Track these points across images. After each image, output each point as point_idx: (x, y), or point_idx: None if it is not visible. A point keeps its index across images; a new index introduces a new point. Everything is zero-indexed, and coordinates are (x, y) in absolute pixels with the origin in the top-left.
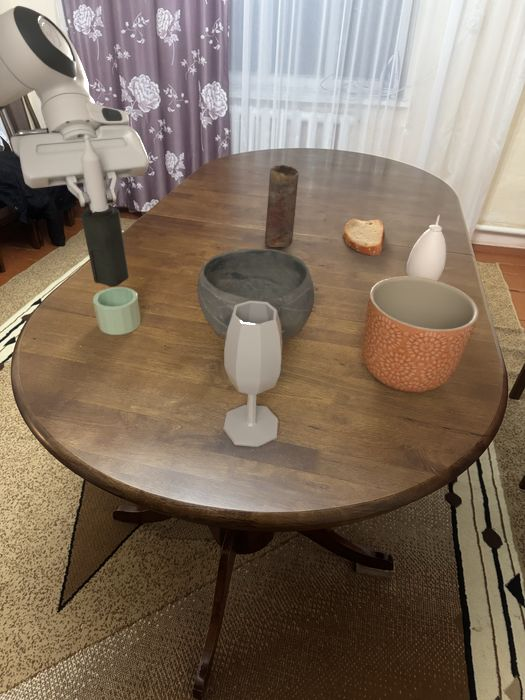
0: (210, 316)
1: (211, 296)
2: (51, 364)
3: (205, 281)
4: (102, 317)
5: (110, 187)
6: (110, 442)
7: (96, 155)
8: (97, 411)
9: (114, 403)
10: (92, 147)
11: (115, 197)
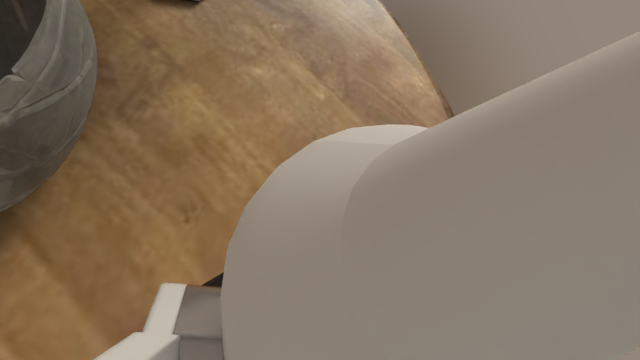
0: (96, 56)
1: (71, 15)
2: None
3: (46, 33)
4: None
5: (165, 338)
6: (373, 55)
7: (325, 151)
8: (375, 117)
9: (345, 118)
10: (432, 136)
11: (166, 285)
